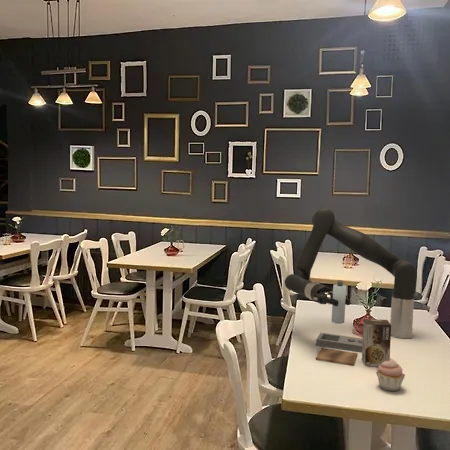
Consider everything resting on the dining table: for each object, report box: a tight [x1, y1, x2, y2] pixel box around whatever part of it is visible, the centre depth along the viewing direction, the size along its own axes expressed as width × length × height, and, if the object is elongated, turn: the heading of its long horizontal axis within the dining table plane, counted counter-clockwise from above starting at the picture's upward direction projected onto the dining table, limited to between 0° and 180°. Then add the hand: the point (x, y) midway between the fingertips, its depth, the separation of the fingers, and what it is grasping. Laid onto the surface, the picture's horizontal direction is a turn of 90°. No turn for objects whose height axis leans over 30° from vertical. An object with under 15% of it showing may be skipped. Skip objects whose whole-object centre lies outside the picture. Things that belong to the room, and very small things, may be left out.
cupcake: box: [375, 357, 406, 392], centre depth 157 cm, size 9×9×10 cm
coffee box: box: [361, 318, 392, 367], centre depth 177 cm, size 9×6×16 cm
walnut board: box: [315, 347, 359, 367], centre depth 183 cm, size 14×12×1 cm
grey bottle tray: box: [315, 332, 363, 353], centre depth 197 cm, size 21×10×3 cm, turn 68°
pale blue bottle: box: [331, 279, 347, 325], centre depth 181 cm, size 5×5×16 cm
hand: (343, 303), depth 179 cm, fingers closed on pale blue bottle, 4 cm apart
